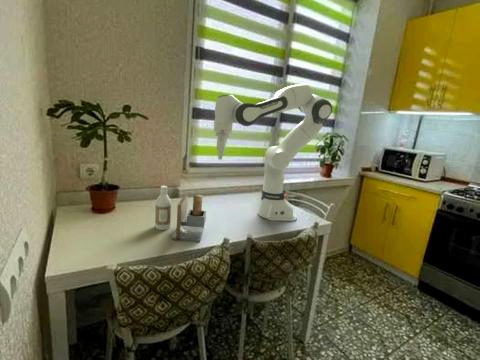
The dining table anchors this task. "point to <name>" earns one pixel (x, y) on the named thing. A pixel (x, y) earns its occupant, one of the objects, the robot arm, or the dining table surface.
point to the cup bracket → (188, 223)
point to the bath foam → (163, 210)
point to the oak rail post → (197, 205)
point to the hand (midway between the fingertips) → (220, 157)
